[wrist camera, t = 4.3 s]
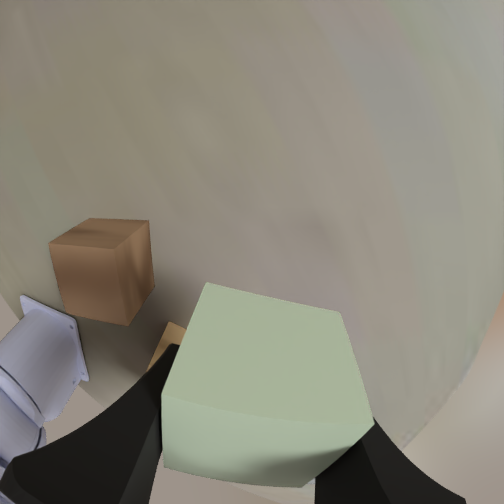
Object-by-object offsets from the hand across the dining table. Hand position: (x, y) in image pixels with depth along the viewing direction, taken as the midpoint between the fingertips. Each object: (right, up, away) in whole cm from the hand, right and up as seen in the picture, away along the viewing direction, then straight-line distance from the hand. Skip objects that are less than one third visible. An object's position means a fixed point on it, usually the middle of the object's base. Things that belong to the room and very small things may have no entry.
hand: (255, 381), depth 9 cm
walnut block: (-10, +5, +9) cm, 14 cm away
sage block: (0, +1, +2) cm, 2 cm away
